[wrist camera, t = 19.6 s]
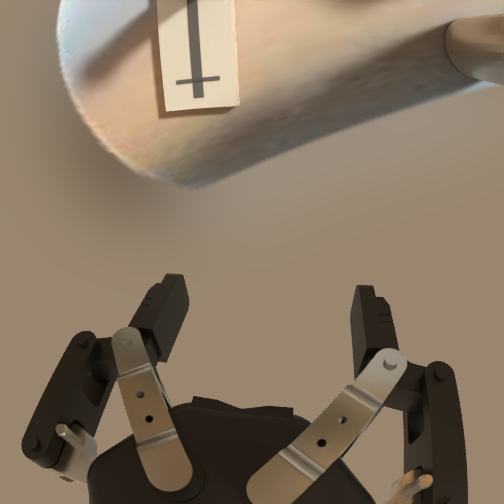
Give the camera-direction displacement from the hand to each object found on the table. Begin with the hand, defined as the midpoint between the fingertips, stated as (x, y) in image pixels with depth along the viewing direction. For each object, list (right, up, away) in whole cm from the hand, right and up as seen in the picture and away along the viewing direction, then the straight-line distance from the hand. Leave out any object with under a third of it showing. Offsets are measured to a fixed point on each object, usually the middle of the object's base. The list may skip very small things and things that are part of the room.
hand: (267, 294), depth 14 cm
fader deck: (-8, +31, +19) cm, 37 cm away
